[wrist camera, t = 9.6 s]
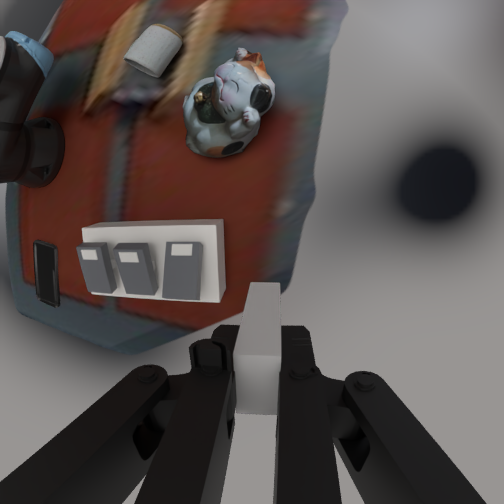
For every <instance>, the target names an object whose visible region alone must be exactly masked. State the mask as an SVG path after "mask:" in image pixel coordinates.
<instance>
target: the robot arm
mask: <svg viewBox="0 0 504 504" xmlns="http://www.w3.org/2000/svg"><path fill="white" fill-rule="evenodd" d="M53 61H54V57H53V54H52V53H51V51H50V50H48V49H47V48H46V47H45V46H43V45H42V44H40V43H38V42H37V41H35V40H33V39H30V38H29V37H27V36H25V35H24V34H21V33H19V32H16V31H10V32H9V33H8V34H7V35H6V36H5V37H2V36H0V183H7V182H16V183H19V184H22V185H24V186H27V187H31V188H37V187H43V186H46V185H47V184H49V183H50V182H51V181H52V180H53V179H54V178H55V176H56V175H57V173H58V171H59V169H60V167H61V164H62V160H63V156H64V148H65V142H64V135H63V131H62V128H61V126H60V125H59V123H58V122H57V121H55V120H54V119H51V118H46V117H39V118H35V119H32V120H29V121H26V122H25V120H26V117H27V115H28V113H29V111H30V108H31V106H32V104H33V102H34V100H35V98H36V96H37V94H38V92H39V90H40V88H41V86H42V84H43V82H44V81H45V80H46V77H47V74H48V72H49V70H50V68H51V66H52V64H53ZM189 353H190V360H191V367H192V368H191V371H190V372H189V373H186V374H180V375H169V376H168V374H167V372H166V370H165V369H164V368H162V367H160V366H158V365H143V366H140V367H137V368H135V369H134V370H132V371H131V372H130V373H129V374H128V375H127V376H125V377H124V378H123V379H122V380H121V381H119V382H118V383H117V384H116V385H115V386H114V387H113V388H111V389H110V390H109V391H108V392H107V393H106V394H104V395H103V396H102V397H101V398H100V399H99V400H97V401H96V402H95V403H94V404H93V405H91V406H90V407H89V408H88V409H87V410H86V411H84V412H83V413H82V414H81V415H80V416H79V417H77V418H76V419H75V420H74V421H73V422H71V423H70V424H69V425H68V426H67V427H66V428H64V429H63V430H62V431H61V432H60V433H59V434H57V435H56V436H55V437H54V438H53V439H52V440H50V441H49V442H48V443H47V444H45V445H44V446H43V447H42V448H41V449H39V450H38V451H37V452H36V453H35V454H33V455H32V456H31V457H30V458H29V459H27V460H26V461H25V462H24V463H23V464H22V465H20V466H19V467H18V468H17V469H15V470H14V471H13V472H12V473H10V474H9V475H8V476H7V477H6V478H4V479H3V480H2V481H1V482H0V504H122V503H123V502H124V501H125V500H126V498H127V497H128V496H129V495H130V494H131V492H132V491H133V490H134V489H135V487H136V486H137V485H138V484H139V483H140V481H141V480H142V479H143V478H144V476H145V475H146V477H145V479H144V482H143V484H142V486H141V489H140V491H139V493H138V496H137V498H136V501H135V503H134V504H220V502H221V497H222V492H223V486H224V481H225V476H226V470H227V465H228V459H229V454H230V448H231V443H232V437H233V432H234V426H235V418H234V413H235V408H236V413H241V414H263V415H277V425H276V454H275V477H274V496H273V504H342V502H341V493H340V486H339V478H338V471H337V464H336V457H335V451H334V445H335V447H336V449H337V451H338V453H339V455H340V456H341V458H342V460H343V462H344V464H345V466H346V468H347V470H348V472H349V474H350V476H351V478H352V480H353V482H354V484H355V486H356V487H357V489H358V491H359V494H360V495H361V497H362V499H363V501H364V503H365V504H486V502H485V501H484V500H483V499H482V497H481V496H480V495H479V494H478V492H477V491H476V490H475V489H474V487H473V486H472V485H471V484H470V483H469V481H468V480H467V479H466V478H465V476H464V475H463V474H462V473H461V471H460V470H459V469H458V468H457V467H456V465H455V464H454V463H453V462H452V461H451V459H450V458H449V457H448V456H447V454H446V453H445V452H444V451H443V450H442V449H441V447H440V446H439V445H438V444H437V442H435V440H434V439H433V438H432V437H431V435H430V434H429V433H428V432H427V431H426V430H425V428H424V427H423V426H422V425H421V423H420V422H419V421H418V420H417V419H416V417H415V416H414V415H413V414H412V413H411V411H410V410H409V409H408V408H407V407H406V406H405V405H404V403H403V402H402V401H401V400H400V398H399V397H397V395H396V394H395V393H394V392H393V390H392V389H391V388H390V387H389V386H388V385H387V383H386V382H385V381H384V380H383V379H382V378H381V377H380V376H378V375H377V374H375V373H372V372H367V371H358V372H354V373H351V374H350V375H348V376H347V377H346V379H345V381H342V380H336V379H331V378H328V377H326V376H324V375H322V374H321V372H320V370H319V368H318V367H317V366H316V364H315V359H314V353H313V348H312V342H311V337H310V332H309V331H308V330H307V329H306V328H305V327H304V326H281V307H280V283H263V282H251V283H250V287H249V291H248V296H247V300H246V304H245V308H244V312H243V316H242V320H241V324H240V325H220V326H219V327H217V328H216V329H215V330H214V331H213V334H212V337H211V339H202V340H198V341H196V342H194V343H193V344H191V346H190V347H189ZM333 443H334V444H333Z"/></svg>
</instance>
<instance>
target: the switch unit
mask: <svg viewBox="0 0 504 504" xmlns="http://www.w3.org/2000/svg"><path fill="white" fill-rule="evenodd" d="M82 235H83V242H107V245H108V250H109V255H110V259H111V264H112V268H113V272H114V276H115V280H116V284H117V289H116V290H115V291H114V292H113V293H112V294H108V293H97V292H91V293H92V294H97V295H106V296H118V297H130V298H143V299H158V300H174V301H191V302H219V303H220V301H221V298H222V296H223V294H224V292H225V289H226V279H225V253H224V222H223V219H196V220H153V221H124V222H101V223H97V224H94V225H90V226H87V227H84V228H82ZM166 242H200V243H201V244H202V245H203V253H202V270H201V290H200V300H179V299H166V298H162V290H163V275H164V262H165V250H166ZM118 243H148V246H149V251H150V255H151V259H152V264H153V268H154V272H155V276H156V280H157V284H158V287H159V288H158V290H157V292H156V294H155V296H151V295H136V294H126V291H125V288H124V285H123V282H122V279H121V276H120V273H119V270H118V266H117V263H116V260H115V256H114V253H113V248H114V247H115V246H116V245H117V244H118Z"/></svg>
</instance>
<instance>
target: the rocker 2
mask: <svg viewBox="0 0 504 504" xmlns="http://www.w3.org/2000/svg"><path fill="white" fill-rule="evenodd" d="M113 253H114V256H115V260H116V263H117V266H118V270H119V273H120V276H121V279H122V282H123V285H124V288H125V291H126V294H136V295H151V296H155V294H156V292H157V290H158V288H159V287H158V284H157V280H156V276H155V272H154V268H153V264H152V259H151V255H150V251H149V246H148V243H118V244H117V245H116V246H115V247H114V248H113Z"/></svg>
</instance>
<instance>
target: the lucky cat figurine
mask: <svg viewBox="0 0 504 504" xmlns="http://www.w3.org/2000/svg"><path fill="white" fill-rule="evenodd" d="M274 89H275V84H274V83H273V81H272V80H271V78H270V76H269V75H268V74H267V73H266V68H265V64H264V62H263V60H262V56H261V54H260V53H259V52H258V53H251V52H249V51H247V50H245V49H244V48H238V50H237V51H236V54H235V57H234V58H233V59H230V60H228V61H227V62H226V63H225V64H223V65H221V66H218V68H217V69H216V70H215V72H214V77H210V78H205V79H202V80H200V81H199V82H197V83H196V84H195V86H194V87H193V89H192V93H191V94H190V96H186V97H185V100H184V103H183V109H184V112H183V117H184V122H185V127H186V129H187V135H186V145H187V147H188V148H189V149H190V150H192V151H193V152H194V153H197V154H200V155H203V156H207V157H214V158H220V157H226V156H229V155H232V154H236V153H240V152H243V150H244V149H245V147H246V146H247V144H248V143H249V142H250V141H251V140H252V139H253V137H255V136H256V135H257V134H258V130H259V127H260V119H261V116H262V115H263V114H265V113H266V112H267V111H268V110H269V109H270V108H271V106H272V105H273V103H274V100H275V98H274V96H275V90H274Z"/></svg>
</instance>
